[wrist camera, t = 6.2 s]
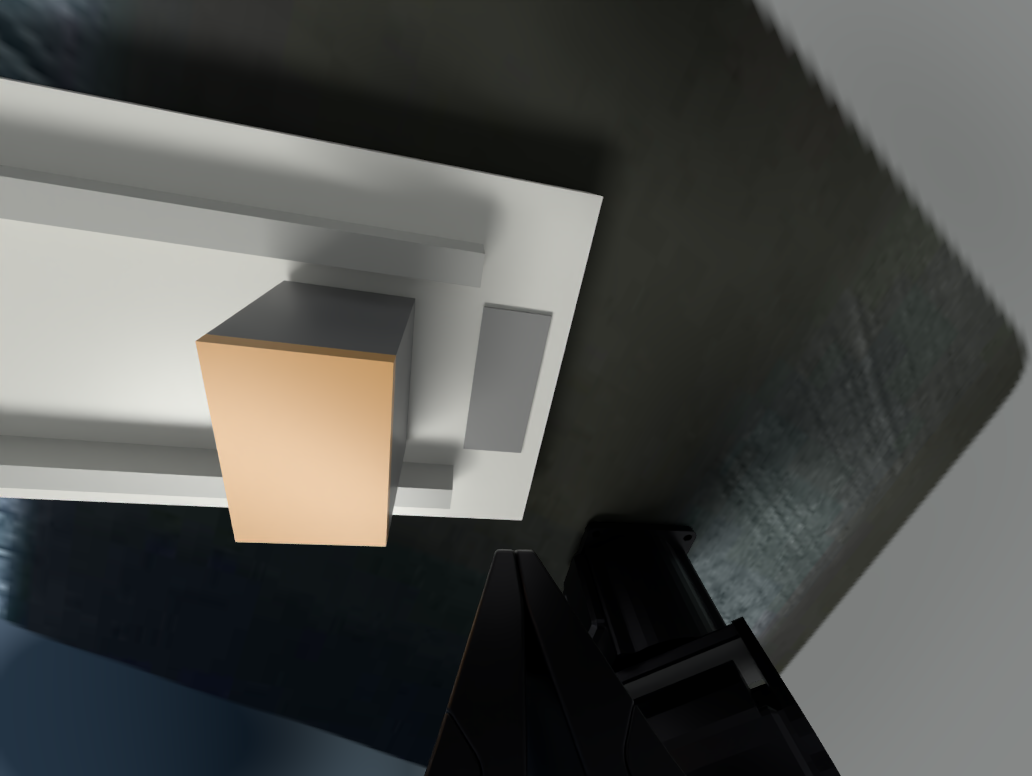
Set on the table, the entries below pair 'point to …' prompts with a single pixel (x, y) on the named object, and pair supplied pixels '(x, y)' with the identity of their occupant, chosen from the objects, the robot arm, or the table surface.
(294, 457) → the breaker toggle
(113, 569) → the table surface
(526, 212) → the white rail tray
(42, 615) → the table surface
